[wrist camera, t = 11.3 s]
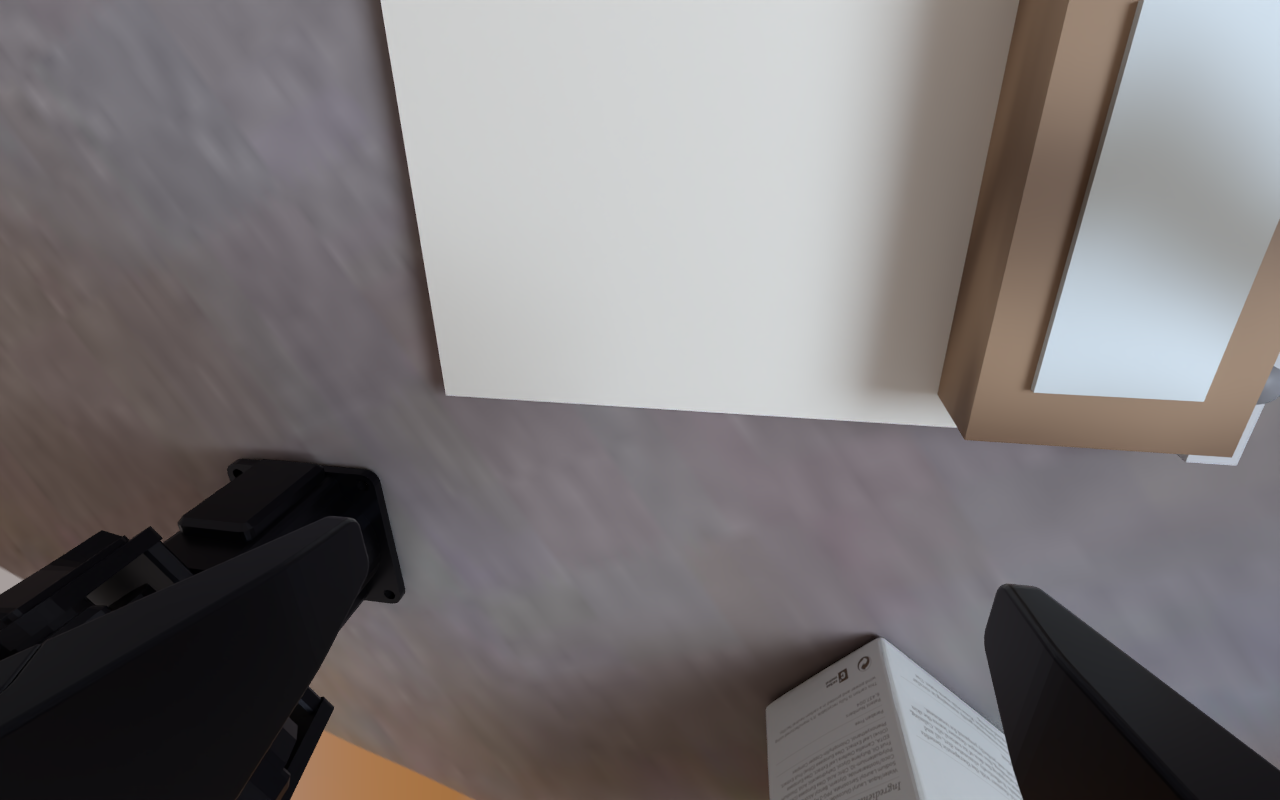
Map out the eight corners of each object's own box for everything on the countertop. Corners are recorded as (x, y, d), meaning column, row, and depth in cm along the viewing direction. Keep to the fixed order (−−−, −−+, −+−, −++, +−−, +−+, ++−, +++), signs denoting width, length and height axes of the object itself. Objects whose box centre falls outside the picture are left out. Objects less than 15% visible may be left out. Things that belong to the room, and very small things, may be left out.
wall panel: (1221, 432, 18) (1284, 477, 16) (455, 386, 22) (422, 417, 20) (1467, -131, 13) (1617, -181, 10) (386, -58, 17) (328, -83, 14)
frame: (1164, 407, 17) (1237, 461, 15) (937, 394, 18) (967, 443, 16) (1350, -76, 13) (1507, -125, 10) (1031, -58, 14) (1096, -98, 11)
